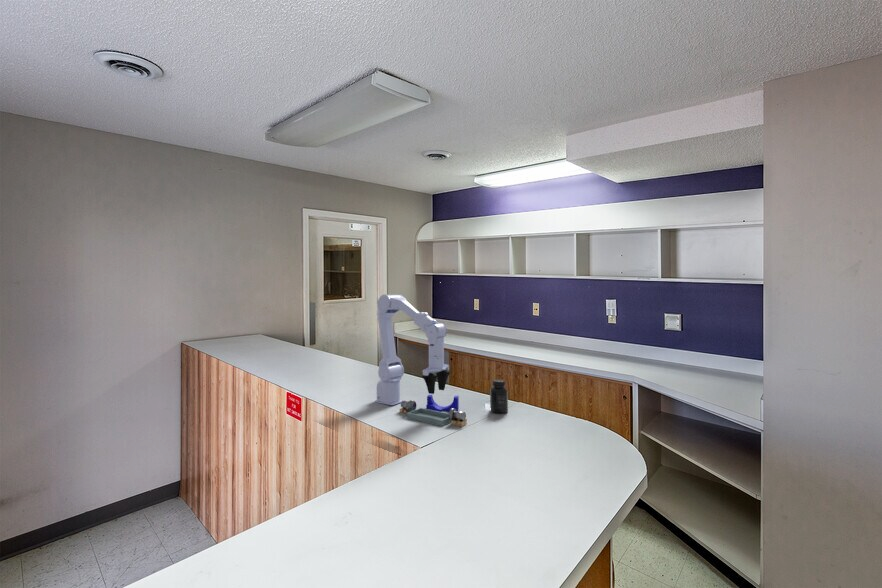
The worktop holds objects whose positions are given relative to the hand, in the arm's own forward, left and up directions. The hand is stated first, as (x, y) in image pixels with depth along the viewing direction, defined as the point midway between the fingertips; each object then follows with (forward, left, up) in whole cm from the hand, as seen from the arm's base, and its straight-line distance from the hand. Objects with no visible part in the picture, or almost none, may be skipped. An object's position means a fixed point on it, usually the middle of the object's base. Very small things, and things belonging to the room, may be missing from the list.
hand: (436, 391), depth 155 cm
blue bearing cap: (-1, +6, -10) cm, 11 cm away
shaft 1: (-8, -5, -9) cm, 13 cm away
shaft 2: (+10, -5, -9) cm, 14 cm away
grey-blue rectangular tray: (+1, -5, -9) cm, 10 cm away
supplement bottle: (+17, +18, -9) cm, 26 cm away
